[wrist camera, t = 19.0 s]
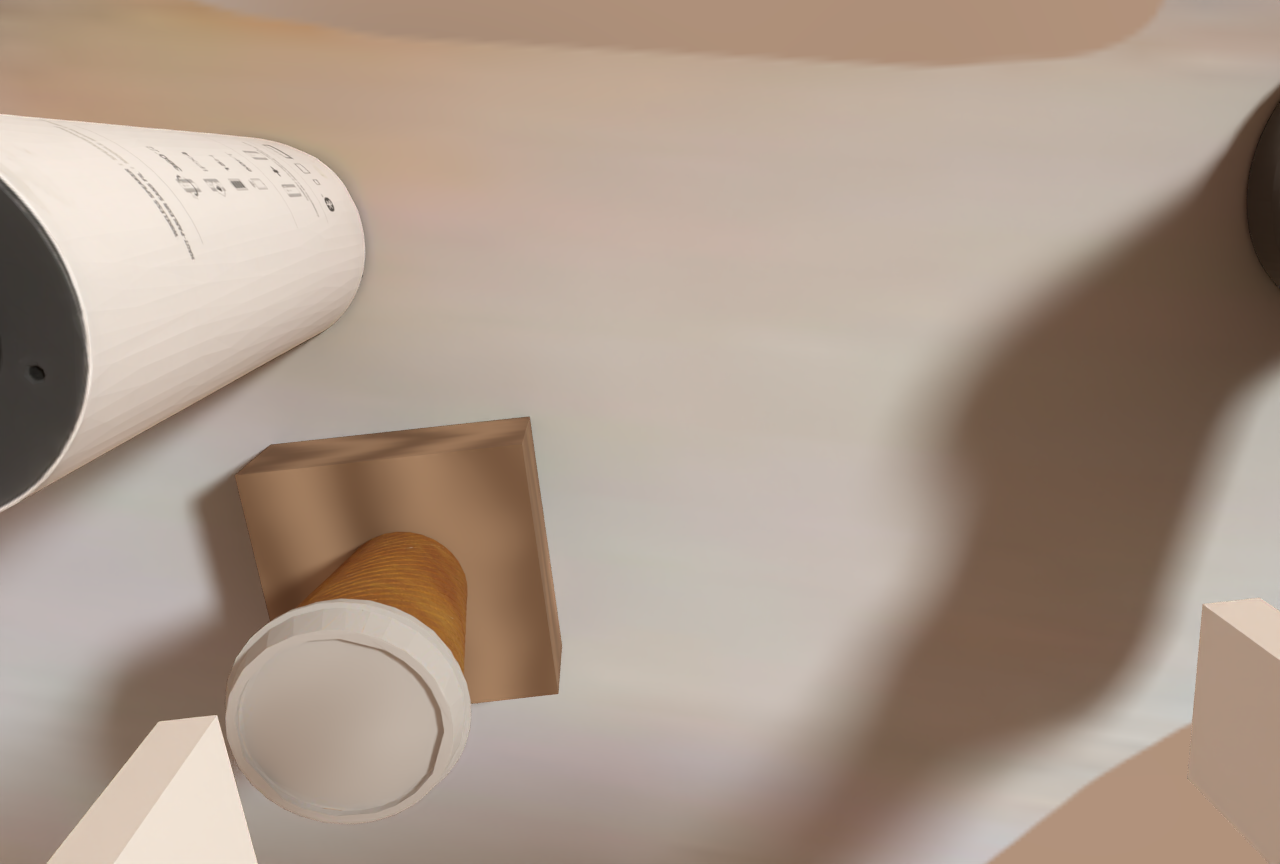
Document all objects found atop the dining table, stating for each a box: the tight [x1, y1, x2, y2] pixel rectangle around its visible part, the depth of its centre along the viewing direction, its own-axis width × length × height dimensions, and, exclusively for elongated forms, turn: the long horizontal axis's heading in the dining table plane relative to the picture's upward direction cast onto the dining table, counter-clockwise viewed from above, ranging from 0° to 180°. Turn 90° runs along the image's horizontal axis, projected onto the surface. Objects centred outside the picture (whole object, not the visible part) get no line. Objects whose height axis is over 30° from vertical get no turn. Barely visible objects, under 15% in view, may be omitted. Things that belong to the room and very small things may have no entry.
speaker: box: [0, 114, 365, 512], centre depth 33 cm, size 11×10×26 cm
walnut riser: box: [235, 417, 562, 704], centre depth 48 cm, size 14×14×5 cm
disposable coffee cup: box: [225, 532, 471, 824], centre depth 40 cm, size 10×10×12 cm
